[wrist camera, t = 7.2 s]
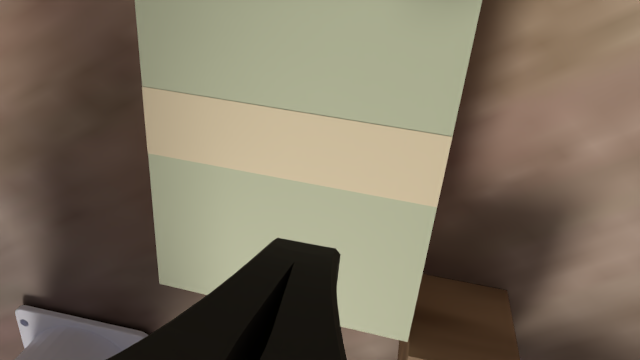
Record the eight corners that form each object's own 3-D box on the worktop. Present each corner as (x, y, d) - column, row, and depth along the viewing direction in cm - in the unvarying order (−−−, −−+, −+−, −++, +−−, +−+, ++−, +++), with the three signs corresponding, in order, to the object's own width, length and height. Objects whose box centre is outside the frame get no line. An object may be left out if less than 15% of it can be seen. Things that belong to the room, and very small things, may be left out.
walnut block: (484, 356, 24) (495, 454, 19) (399, 338, 24) (391, 429, 20) (506, 289, 22) (524, 381, 17) (413, 271, 22) (408, 355, 18)
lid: (409, 327, 19) (407, 342, 19) (169, 271, 21) (159, 284, 20) (499, -87, 13) (501, -88, 12) (140, -117, 15) (123, -119, 14)
